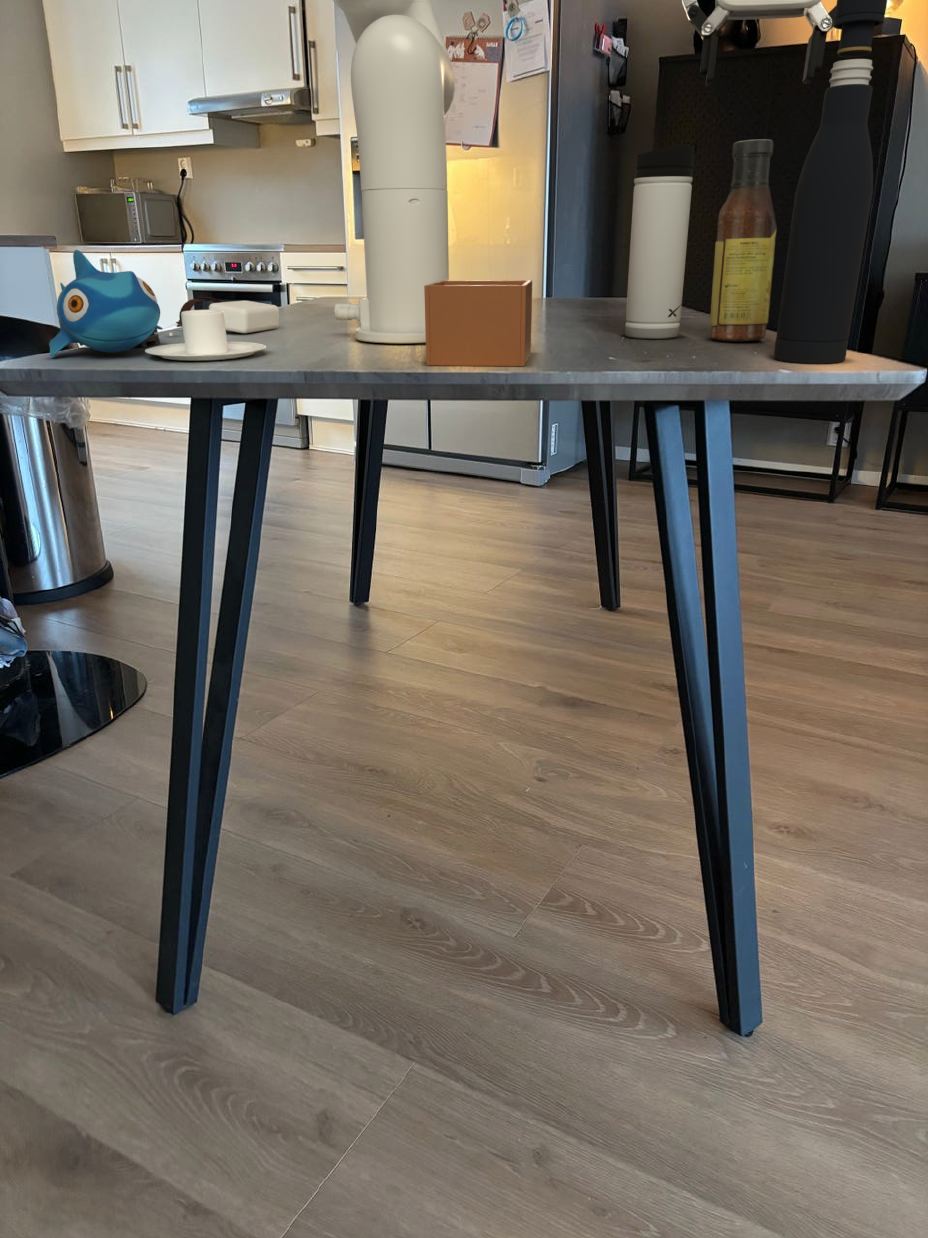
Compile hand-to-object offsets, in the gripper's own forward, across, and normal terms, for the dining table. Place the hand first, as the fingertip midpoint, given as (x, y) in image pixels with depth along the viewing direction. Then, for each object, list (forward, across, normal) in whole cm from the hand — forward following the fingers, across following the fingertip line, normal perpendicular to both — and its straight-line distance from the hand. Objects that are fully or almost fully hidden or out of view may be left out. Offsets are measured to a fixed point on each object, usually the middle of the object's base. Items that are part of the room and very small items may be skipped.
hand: (757, 82), depth 88 cm
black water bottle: (+25, -7, +16) cm, 31 cm away
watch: (+24, +66, -1) cm, 70 cm away
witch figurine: (+26, +67, 0) cm, 72 cm away
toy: (+26, +64, +22) cm, 72 cm away
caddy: (+26, +24, +20) cm, 41 cm away
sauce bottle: (+25, -1, 0) cm, 25 cm away
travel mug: (+25, +8, -3) cm, 27 cm away
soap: (+23, +60, -2) cm, 64 cm away
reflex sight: (+27, +68, +14) cm, 75 cm away
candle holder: (+26, +52, +22) cm, 63 cm away
